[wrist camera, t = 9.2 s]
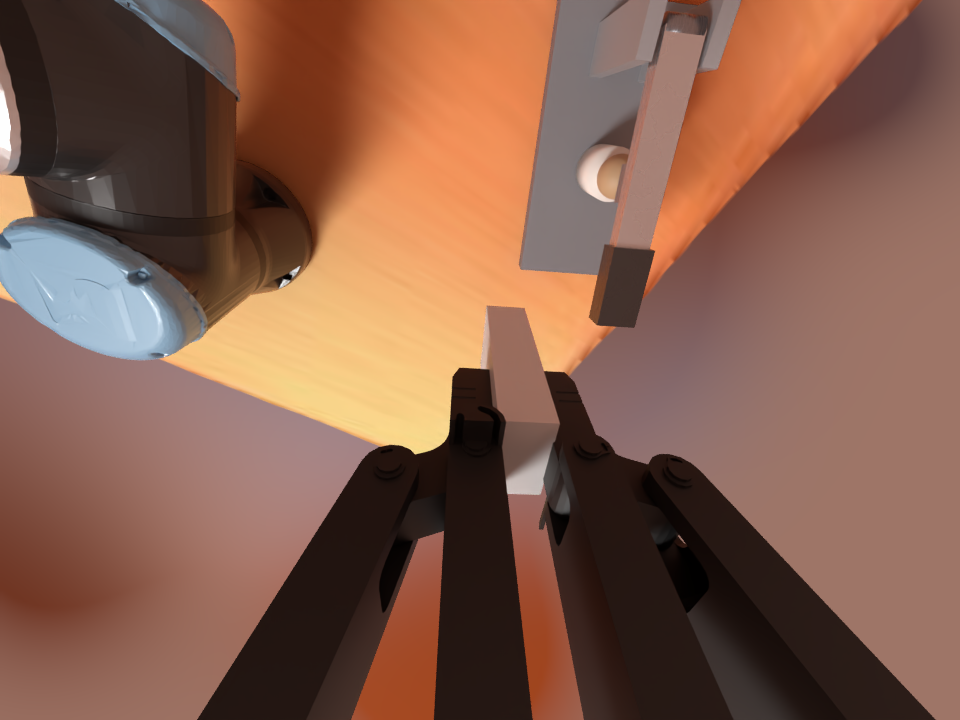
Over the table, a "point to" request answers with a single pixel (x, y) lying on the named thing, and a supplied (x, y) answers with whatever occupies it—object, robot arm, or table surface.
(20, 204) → the table surface
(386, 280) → the table surface
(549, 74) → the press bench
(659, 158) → the press lever
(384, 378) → the table surface
